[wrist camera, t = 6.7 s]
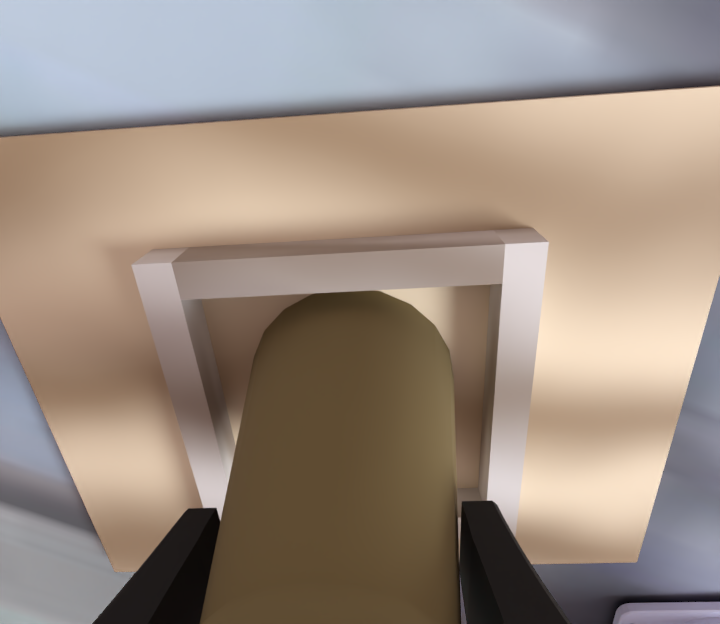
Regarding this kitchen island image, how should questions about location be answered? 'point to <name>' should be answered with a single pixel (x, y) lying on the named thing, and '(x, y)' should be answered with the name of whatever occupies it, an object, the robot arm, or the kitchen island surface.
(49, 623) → the kitchen island surface
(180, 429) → the socket board
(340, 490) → the cork
